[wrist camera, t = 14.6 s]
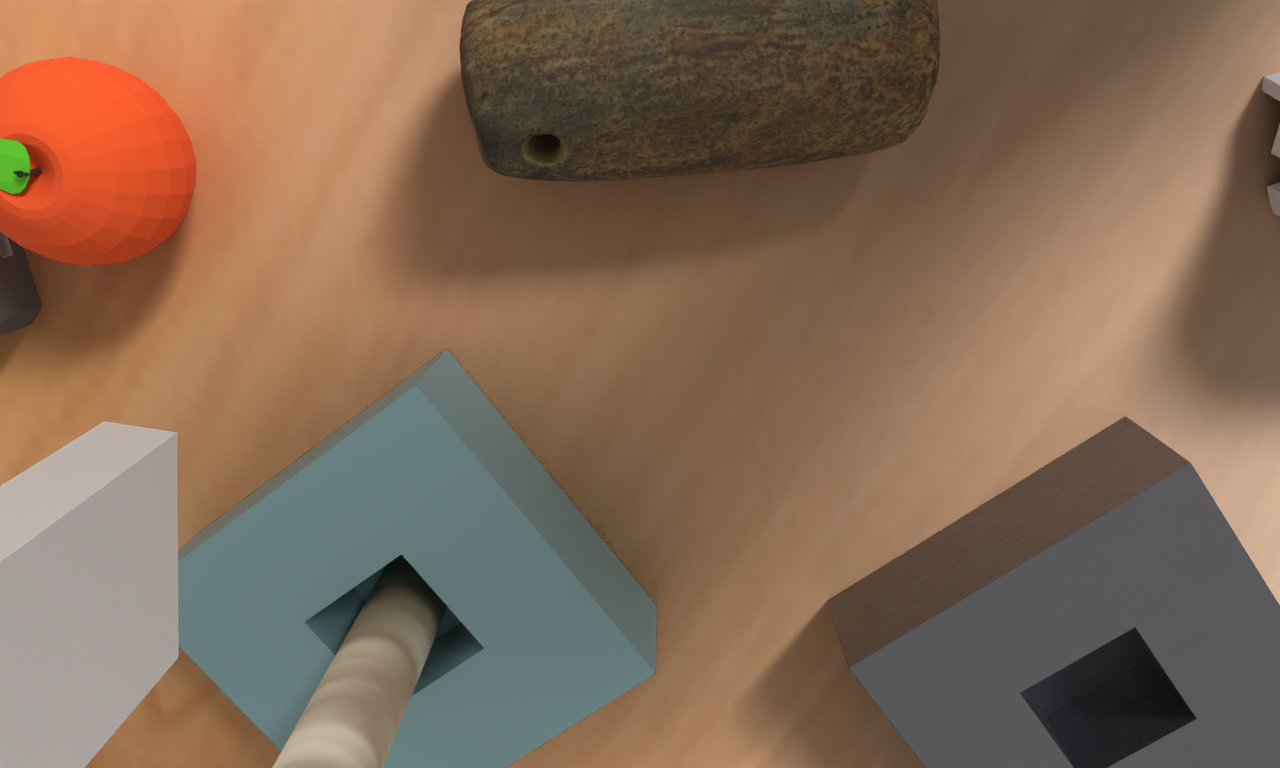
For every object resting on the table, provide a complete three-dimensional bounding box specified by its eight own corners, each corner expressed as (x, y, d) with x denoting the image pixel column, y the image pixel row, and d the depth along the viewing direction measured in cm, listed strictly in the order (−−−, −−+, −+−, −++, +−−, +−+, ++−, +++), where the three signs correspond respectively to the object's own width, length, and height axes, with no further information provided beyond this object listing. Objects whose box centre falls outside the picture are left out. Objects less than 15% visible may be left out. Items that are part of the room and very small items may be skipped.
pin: (366, 578, 40) (235, 800, 28) (420, 538, 40) (311, 748, 27) (414, 629, 41) (307, 868, 29) (468, 590, 41) (382, 818, 28)
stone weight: (510, 201, 37) (478, 225, 31) (473, 6, 35) (429, -13, 29) (911, 138, 36) (964, 149, 30) (895, -68, 34) (948, -104, 28)
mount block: (827, 600, 41) (848, 668, 37) (1125, 416, 39) (1190, 462, 34) (998, 824, 44) (1037, 913, 40) (1285, 668, 42) (1365, 743, 37)
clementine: (8, 212, 38) (-138, 240, 31) (26, 26, 36) (-125, 12, 29) (214, 270, 38) (115, 311, 31) (243, 91, 36) (145, 93, 29)
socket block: (192, 537, 41) (130, 596, 36) (447, 348, 39) (416, 385, 34) (407, 766, 44) (375, 848, 40) (657, 606, 42) (655, 673, 37)
